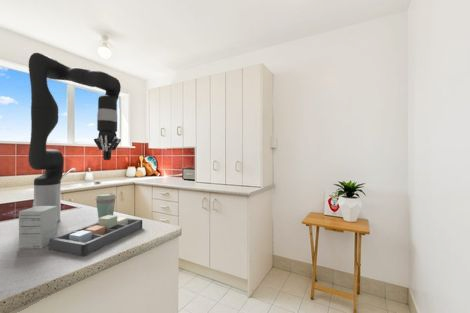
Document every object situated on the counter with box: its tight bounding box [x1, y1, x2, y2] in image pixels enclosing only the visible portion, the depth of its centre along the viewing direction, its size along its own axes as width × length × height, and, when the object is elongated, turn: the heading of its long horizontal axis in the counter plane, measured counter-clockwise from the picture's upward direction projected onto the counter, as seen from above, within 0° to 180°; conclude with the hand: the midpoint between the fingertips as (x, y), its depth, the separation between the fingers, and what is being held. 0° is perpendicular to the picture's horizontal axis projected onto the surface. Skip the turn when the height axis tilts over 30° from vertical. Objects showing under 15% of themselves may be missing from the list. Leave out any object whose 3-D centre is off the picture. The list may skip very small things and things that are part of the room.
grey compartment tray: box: [48, 216, 143, 257], centre depth 80 cm, size 15×26×4 cm, turn 164°
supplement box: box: [18, 206, 59, 250], centre depth 74 cm, size 7×7×13 cm
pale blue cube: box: [69, 230, 92, 243], centre depth 72 cm, size 4×4×4 cm
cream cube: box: [117, 216, 128, 225], centre depth 88 cm, size 4×4×4 cm
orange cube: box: [85, 225, 105, 235], centre depth 78 cm, size 4×4×4 cm
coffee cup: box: [95, 192, 117, 219], centre depth 102 cm, size 9×8×12 cm
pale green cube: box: [98, 214, 118, 229], centre depth 83 cm, size 4×4×4 cm
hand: (107, 160), depth 93 cm, fingers closed
